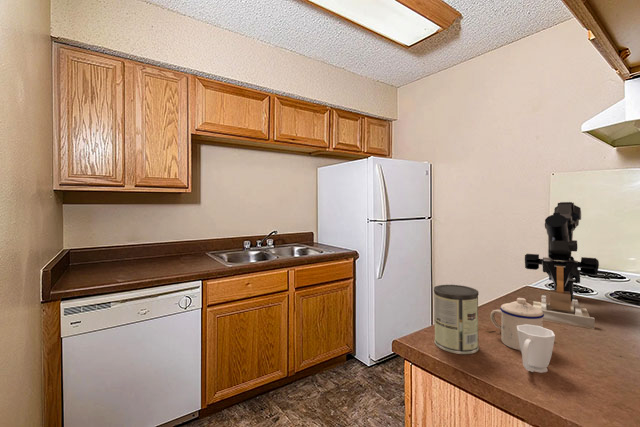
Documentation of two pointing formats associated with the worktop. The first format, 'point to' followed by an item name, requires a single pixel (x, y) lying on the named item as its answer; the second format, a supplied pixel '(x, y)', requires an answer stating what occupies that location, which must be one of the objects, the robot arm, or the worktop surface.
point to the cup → (535, 347)
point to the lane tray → (566, 314)
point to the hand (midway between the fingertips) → (560, 285)
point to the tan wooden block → (560, 294)
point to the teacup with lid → (516, 320)
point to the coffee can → (456, 318)
